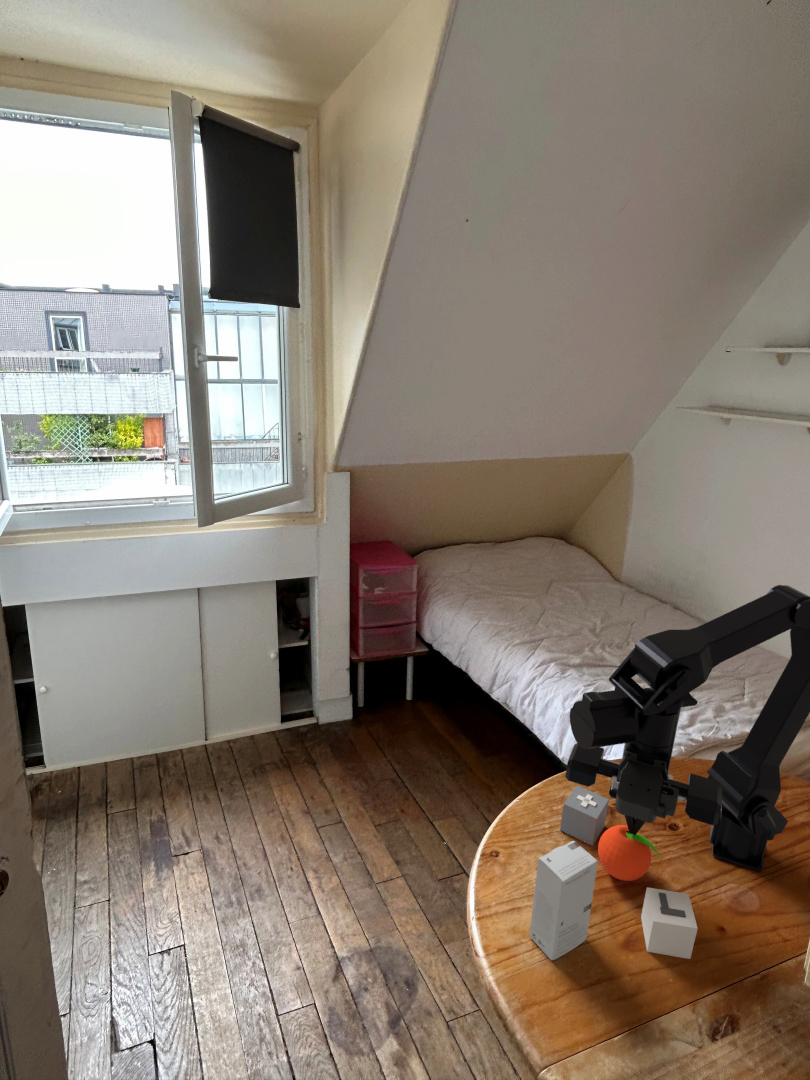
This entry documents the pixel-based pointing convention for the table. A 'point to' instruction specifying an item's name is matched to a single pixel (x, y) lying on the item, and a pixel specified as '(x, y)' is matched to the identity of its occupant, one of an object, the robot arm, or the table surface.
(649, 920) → the pale grey block
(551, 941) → the skincare box
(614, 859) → the clementine
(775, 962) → the table surface
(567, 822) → the slate block
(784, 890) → the table surface
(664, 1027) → the table surface
